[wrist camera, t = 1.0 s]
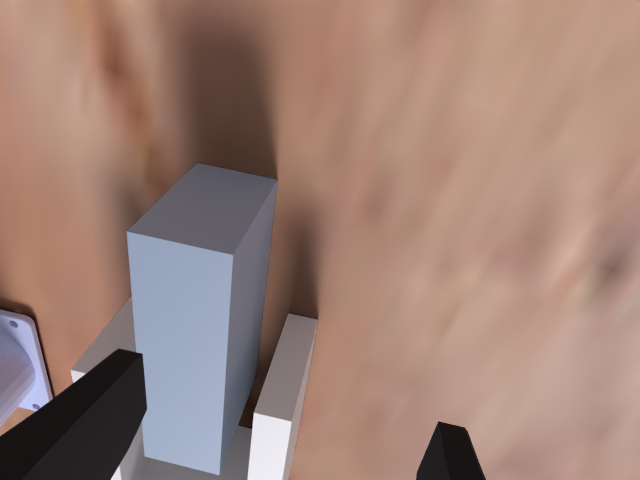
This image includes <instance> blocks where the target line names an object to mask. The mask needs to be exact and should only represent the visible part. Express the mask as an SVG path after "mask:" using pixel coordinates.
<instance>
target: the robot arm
mask: <svg viewBox="0 0 640 480" xmlns="http://www.w3.org/2000/svg"><path fill="white" fill-rule="evenodd" d="M17 407H21V408H25V409H30V410H34V411H36V412H34V413H33V414H32V415H30V416H29V417H27V418H26V419H25V420H23V421H22V422H20V423H19V424H17V425H16V426H14V427H13V428H12V429H10V430H9V431H7V432H6V433H4V434H3V435H1V436H0V480H111V478H112V477H113V475H114V473H115V472H116V470H117V468H118V467H119V465H120V463H121V462H122V460H123V458H124V457H125V455H126V453H127V451H128V450H129V448H130V446H131V443H132V441H133V439H134V437H135V435H136V433H137V431H138V429H139V426H140V424H141V422H142V420H143V417H144V415H145V413H146V411H147V399H146V388H145V376H144V364H143V354H142V353H137V352H133V351H129V350H124V349H120V348H119V349H117V350H115V351H114V352H113V353H111V354H110V355H109V356H107V357H106V358H105V359H104V360H102V361H101V362H100V363H99V364H97V365H96V366H95V367H94V368H92V369H91V370H90V371H88V372H87V373H86V374H85V375H83V376H82V377H81V378H80V379H78V380H77V381H76V382H74V383H73V384H72V385H70V386H69V387H68V388H67V389H65V390H64V391H63V392H61V393H60V394H59V395H57V396H56V397H55V398H53V397H52V393H51V389H50V385H49V381H48V376H47V372H46V368H45V364H44V360H43V356H42V352H41V348H40V344H39V340H38V335H37V331H36V327H35V323H34V321H33V320H32V319H31V318H30V317H29V316H26V315H22V314H18V313H13V312H9V311H4V310H0V427H1V426H2V424H3V423H4V422H5V421H6V420H7V419H8V418H9V416H10V415H11V414H12V413H13V412H14V411H15V409H16V408H17ZM416 480H486V479H485V476H484V474H483V471H482V469H481V466H480V464H479V461H478V458H477V456H476V453H475V450H474V448H473V445H472V442H471V439H470V437H469V434H468V431H467V430H466V429H465V427H460V426H456V425H451V424H447V423H443V422H438V424H437V426H436V428H435V431H434V433H433V436H432V438H431V440H430V443H429V445H428V447H427V450H426V452H425V455H424V457H423V459H422V462H421V464H420V466H419V469H418V471H417V478H416Z"/></svg>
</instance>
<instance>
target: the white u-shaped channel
mask: <svg viewBox="0 0 640 480" xmlns="http://www.w3.org/2000/svg"><path fill="white" fill-rule="evenodd" d="M317 324H318V320H317V319H312V318H308V317H303V316H299V315H294V314H289V313H288V316H287V318H286V321H285V324H284V327H283V330H282V333H281V336H280V339H279V342H278V345H277V347H276V350H275V353H274V356H273V359H272V362H271V365H270V368H269V371H268V373H267V376H266V379H265V382H264V385H263V388H262V391H261V394H260V397H259V399H258V402H257V405H256V408H255V411H254V417H253V427H252V429H251V428H246V427H242V426H237V429H236V432H235V434H234V437H233V440H232V443H231V445H230V448H229V451H228V453H227V456H226V459H225V461H224V464H223V467H222V470H221V472H220V475H216V474H212V473H208V472H204V471H200V470H196V469H192V468H189V467H185V466H181V465H177V464H173V463H169V462H165V461H161V460H157V459H153V458H149V457H145V455H144V443H143V430H142V422H141V424H140V426H139V429H138V431H137V433H136V435H135V437H134V439H133V441H132V443H131V446H130V448H129V450H128V451H127V453H126V455H125V457H124V458H123V460H122V462H121V463H120V465H119V467H118V468H117V470H116V472H115V473H114V475H113V477H112V478H111V480H288V479H289V474H290V470H291V466H292V462H293V458H294V453H295V447H296V442H297V436H298V430H299V425H300V419H301V414H302V408H303V402H304V397H305V391H306V385H307V380H308V374H309V369H310V363H311V357H312V352H313V346H314V340H315V335H316V329H317ZM119 348H120V349H124V350H129V351H133V352H136V342H135V330H134V317H133V305H132V295H131V297H130V298H129V299H128V300H127V302H126V303H125V304H124V305H123V306H122V308H121V309H120V310H119V311H118V313H117V314H116V315H115V316H114V317H113V319H112V320H111V321H110V322H109V324H108V325H107V326H106V327H105V328H104V330H103V331H102V332H101V333H100V334H99V336H98V337H97V338H96V339H95V341H94V342H93V343H92V344H91V345H90V347H89V348H88V349H87V350H86V352H85V353H84V354H83V355H82V356H81V358H80V359H79V360H78V361H77V363H76V364H75V365H74V366H73V367H72V369H71V375H72V379H73V383H74V382H76V381H77V380H78V379H80V378H81V377H82V376H83V375H85V374H86V373H87V372H88V371H90V370H91V369H92V368H94V367H95V366H96V365H97V364H99V363H100V362H101V361H102V360H104V359H105V358H106V357H107V356H109V355H110V354H111V353H113V352H114V351H115V350H117V349H119Z"/></svg>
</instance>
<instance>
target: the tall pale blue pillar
mask: <svg viewBox="0 0 640 480" xmlns="http://www.w3.org/2000/svg"><path fill="white" fill-rule="evenodd" d="M277 183H278V180H277V179H272V178H267V177H263V176H258V175H253V174H248V173H244V172H239V171H234V170H229V169H225V168H220V167H215V166H210V165H206V164H201V163H196V164H195V165H194V166H193V167H192V168H191V169H190V170H189V171H188V172H187V173H186V174H185V175H184V176H183V177H182V178H181V179H180V180H179V181H178V182H177V183H176V184H175V185H174V186H173V187H172V188H171V189H170V190H169V191H168V192H167V193H166V194H165V195H164V196H163V197H162V198H161V199H159V200H158V201H157V202H156V203H155V204H154V205H153V206H152V207H151V208H150V209H149V210H148V211H147V212H146V213H145V214H144V215H143V216H142V217H141V218H140V219H139V220H138V221H137V222H136V223H135V224H134V225H133V226H132V227H131V228H130V229H129V230H128V231H127V242H128V255H129V267H130V280H131V292H132V305H133V317H134V330H135V342H136V352H137V353H142V354H143V364H144V376H145V388H146V399H147V411H146V413H145V415H144V417H143V420H142V430H143V443H144V455H145V457H149V458H153V459H157V460H161V461H165V462H169V463H173V464H177V465H181V466H185V467H189V468H192V469H196V470H200V471H204V472H208V473H212V474H216V475H220V472H221V470H222V467H223V464H224V461H225V459H226V456H227V453H228V451H229V448H230V445H231V443H232V440H233V437H234V434H235V432H236V429H237V426H238V424H239V421H240V418H241V416H242V413H243V410H244V407H245V405H246V402H247V399H248V397H249V394H250V391H251V389H252V386H253V383H254V380H255V378H256V371H257V362H258V354H259V345H260V336H261V327H262V318H263V309H264V300H265V291H266V282H267V273H268V264H269V255H270V246H271V237H272V228H273V219H274V210H275V201H276V192H277Z"/></svg>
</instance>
